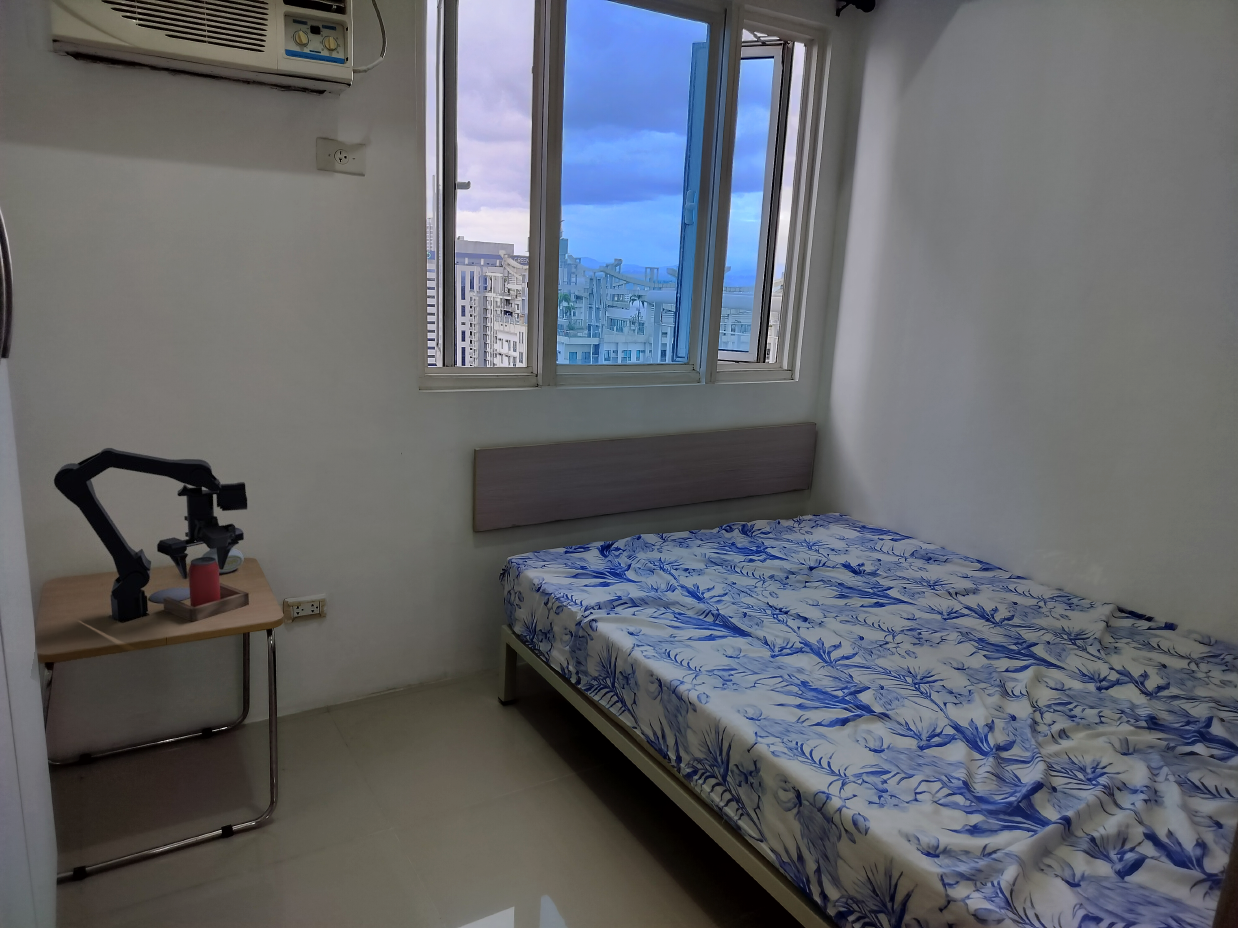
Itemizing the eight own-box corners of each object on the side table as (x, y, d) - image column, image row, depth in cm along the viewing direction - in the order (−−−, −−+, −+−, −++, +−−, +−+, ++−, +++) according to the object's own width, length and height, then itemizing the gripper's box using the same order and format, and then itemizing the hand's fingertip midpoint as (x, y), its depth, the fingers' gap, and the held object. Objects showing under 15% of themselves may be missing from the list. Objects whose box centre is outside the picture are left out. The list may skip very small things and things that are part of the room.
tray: (192, 621, 185) (191, 609, 185) (164, 609, 191) (163, 597, 191) (249, 604, 197) (248, 593, 197) (220, 593, 204) (219, 582, 203)
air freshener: (210, 578, 214) (208, 542, 212) (195, 571, 219) (193, 536, 217) (249, 569, 223) (247, 535, 221) (234, 562, 228) (232, 529, 226)
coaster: (163, 605, 194) (163, 604, 194) (141, 596, 199) (141, 595, 199) (202, 594, 202) (202, 593, 202) (181, 586, 207) (180, 584, 207)
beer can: (226, 602, 198) (224, 557, 195) (210, 612, 191) (207, 565, 189) (201, 600, 198) (198, 555, 196) (184, 610, 192) (181, 563, 189)
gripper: (180, 525, 178) (184, 591, 181) (256, 511, 194) (258, 571, 197) (154, 517, 184) (157, 580, 187) (229, 503, 200) (231, 562, 202)
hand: (203, 573), depth 193 cm, fingers open, 9 cm apart
